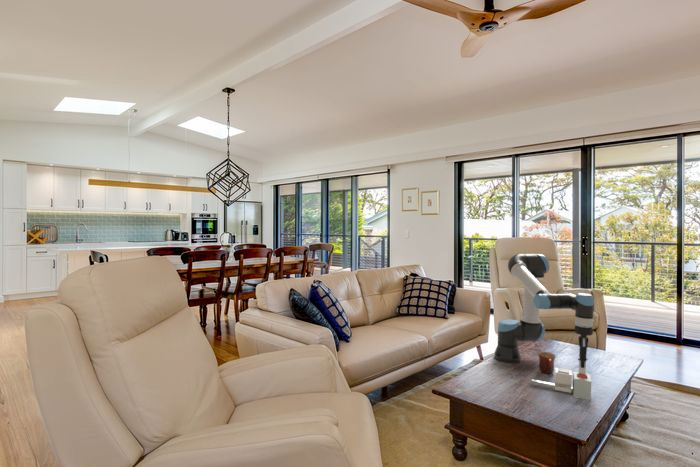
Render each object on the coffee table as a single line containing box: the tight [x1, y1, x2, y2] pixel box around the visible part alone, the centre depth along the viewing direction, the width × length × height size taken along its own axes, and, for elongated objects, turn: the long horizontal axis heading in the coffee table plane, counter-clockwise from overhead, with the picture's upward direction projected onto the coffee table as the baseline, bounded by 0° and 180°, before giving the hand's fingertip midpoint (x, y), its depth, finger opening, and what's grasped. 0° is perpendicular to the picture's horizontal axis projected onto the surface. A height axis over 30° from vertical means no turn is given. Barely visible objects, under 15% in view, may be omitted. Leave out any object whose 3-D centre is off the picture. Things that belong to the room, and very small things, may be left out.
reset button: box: [578, 373, 587, 379], centre depth 188 cm, size 4×4×3 cm
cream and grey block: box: [554, 367, 573, 394], centre depth 192 cm, size 7×7×9 cm
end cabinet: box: [572, 371, 592, 401], centre depth 189 cm, size 7×10×9 cm
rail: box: [530, 378, 573, 395], centre depth 195 cm, size 20×2×2 cm, turn 62°
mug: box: [537, 351, 556, 376], centre depth 214 cm, size 12×9×10 cm
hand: (582, 373), depth 188 cm, fingers closed
